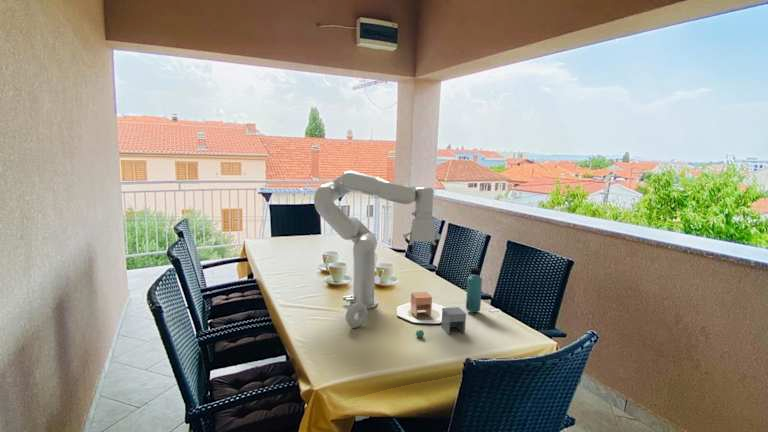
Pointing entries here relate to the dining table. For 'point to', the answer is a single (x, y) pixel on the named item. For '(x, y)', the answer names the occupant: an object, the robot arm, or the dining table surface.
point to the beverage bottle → (474, 291)
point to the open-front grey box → (453, 319)
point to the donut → (351, 313)
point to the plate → (403, 313)
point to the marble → (419, 333)
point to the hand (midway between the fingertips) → (421, 253)
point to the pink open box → (421, 302)
